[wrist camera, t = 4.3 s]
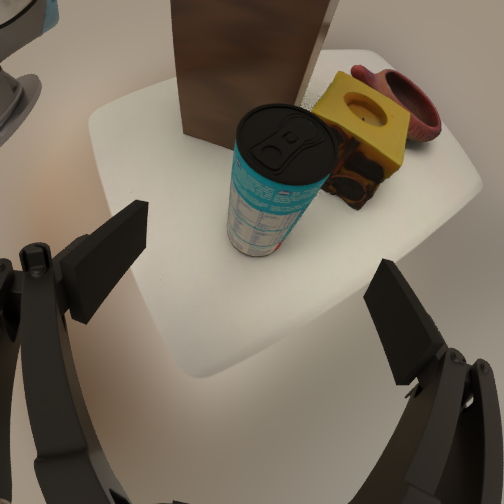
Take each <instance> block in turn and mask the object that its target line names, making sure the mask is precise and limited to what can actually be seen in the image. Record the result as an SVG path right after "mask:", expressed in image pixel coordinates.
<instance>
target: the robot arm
mask: <svg viewBox="0 0 504 504" xmlns="http://www.w3.org/2000/svg"><path fill="white" fill-rule="evenodd" d="M58 21H59V12H58V4H57V0H0V62H2V61H3V60H4V59H6V58H7V57H9V56H10V55H11V54H13V53H14V52H16V51H17V50H18V49H20V48H22V47H23V46H25V45H26V44H28V43H29V42H31V41H33V40H34V39H36V38H37V37H39V36H41V35H43V33H45V32H47V31H48V30H50V29H51V28H53V27H54V26H55V25H56V24H57V23H58ZM23 93H24V88H23V87H22V85H21V83H20V82H19V81H18V80H16V79H15V78H13V77H12V76H10V75H9V74H8V73H6V72H4V71H3V69H2V68H1V66H0V127H1V126H2V125H3V124H4V122H5V121H6V120H7V119H8V118H9V117H10V115H11V114H12V113H13V111H14V110H15V109H16V107H17V106H18V104H19V102H20V100H21V98H22V96H23ZM148 204H149V202H145V201H140V200H135V201H133V202H132V203H131V204H129V205H128V206H127V207H125V208H124V209H123V210H121V211H120V212H119V213H117V214H116V215H115V216H113V217H112V218H111V219H109V220H108V221H107V222H106V223H104V224H103V225H102V226H100V227H99V228H98V229H97V230H96V231H94V232H93V233H92V234H90V235H88V234H85V235H83V236H80V237H78V238H76V239H75V240H74V241H73V242H72V243H71V244H70V245H68V246H67V247H66V248H65V249H63V250H62V251H61V252H60V253H58V254H57V255H56V256H55V257H54V258H53V259H52V258H51V251H50V247H49V246H48V245H47V244H46V243H41V242H40V243H32V244H29V245H27V246H25V247H24V248H23V249H22V250H21V251H20V253H19V257H20V261H21V265H22V269H23V271H17V270H13V267H12V263H11V261H10V260H8V259H5V258H2V259H0V504H11V501H12V478H11V461H10V416H11V402H12V391H13V383H14V377H15V370H16V364H17V358H18V353H19V348H20V344H21V361H22V373H23V383H24V390H25V398H26V404H27V409H28V415H29V420H30V425H31V429H32V434H33V438H34V442H35V446H36V449H37V458H36V459H35V460H34V469H35V473H36V477H37V480H38V483H39V485H40V488H41V491H42V493H43V496H44V498H45V501H46V503H47V504H132V503H131V501H130V499H129V498H128V496H127V494H126V493H125V491H124V490H123V488H122V486H121V484H120V483H119V481H118V479H117V478H116V476H115V475H114V473H113V471H112V469H111V467H110V465H109V463H108V461H107V459H106V457H105V454H104V452H103V450H102V447H101V445H100V443H99V440H98V438H97V435H96V433H95V430H94V428H93V425H92V422H91V419H90V416H89V413H88V410H87V407H86V404H85V401H84V398H83V395H82V391H81V388H80V384H79V381H78V377H77V373H76V369H75V365H74V361H73V357H72V351H71V347H70V342H69V337H68V331H67V325H66V320H65V316H64V314H65V312H66V311H67V310H68V309H69V310H70V314H71V317H72V319H74V320H76V321H79V322H81V323H84V324H86V325H87V323H88V322H89V320H90V319H91V318H92V316H93V315H94V313H95V312H96V311H97V309H98V308H99V306H100V305H101V304H102V302H103V301H104V300H105V298H106V297H107V296H108V294H109V293H110V292H111V290H112V289H113V288H114V286H115V285H116V284H117V283H118V281H119V280H120V279H121V278H122V276H123V275H124V274H125V272H126V271H127V270H128V269H129V267H130V266H131V265H132V264H133V262H134V261H135V260H136V259H137V258H138V256H139V255H140V254H141V253H142V252H143V250H144V249H145V248H146V234H147V217H148ZM363 298H364V300H365V302H366V305H367V307H368V309H369V312H370V314H371V317H372V319H373V322H374V324H375V327H376V330H377V332H378V334H379V337H380V340H381V343H382V345H383V348H384V351H385V354H386V356H387V359H388V362H389V365H390V368H391V371H392V374H393V377H394V379H395V382H396V385H409V384H410V383H411V382H412V381H413V380H414V379H415V378H416V377H417V379H418V381H419V383H418V384H417V385H416V386H415V387H414V388H413V389H412V390H411V391H410V392H409V393H408V394H407V395H406V396H405V398H407V397H408V396H410V399H409V401H408V403H407V406H406V408H405V410H404V412H403V415H402V417H401V419H400V421H399V423H398V425H397V427H396V429H395V431H394V433H393V435H392V437H391V439H390V440H389V443H388V444H387V446H386V448H385V450H384V451H383V453H382V455H381V457H380V458H379V460H378V462H377V464H376V465H375V467H374V468H373V470H372V471H371V473H370V475H369V476H368V478H367V479H366V481H365V482H364V484H363V485H362V487H361V488H360V490H359V491H358V492H357V494H356V495H355V496H354V498H353V499H352V500H351V501H350V502H349V503H348V504H501V499H502V487H503V439H502V438H503V437H502V425H501V416H500V409H499V402H498V396H497V390H496V385H495V379H494V375H493V371H492V368H491V367H490V364H489V363H488V362H487V361H485V360H483V359H477V361H476V362H475V363H474V364H473V365H469V364H466V360H465V358H464V356H463V355H462V354H461V353H460V352H459V351H458V350H456V349H454V348H448V346H447V344H446V342H445V341H444V339H443V337H442V335H441V333H440V332H439V331H438V328H437V326H436V325H435V323H434V321H433V320H432V318H431V316H430V315H429V314H428V313H427V312H426V311H425V309H424V307H423V306H422V304H421V303H420V301H419V299H418V298H417V296H416V295H415V293H414V292H413V290H412V288H411V287H410V285H409V284H408V282H407V281H406V280H405V278H404V277H403V275H402V274H401V272H400V271H399V269H398V268H397V266H396V265H395V263H394V262H393V261H390V260H387V259H383V258H382V261H381V263H380V265H379V267H378V269H377V271H376V273H375V275H374V277H373V279H372V281H371V283H370V285H369V287H368V289H367V291H366V293H365V295H364V296H363ZM472 397H473V403H472V404H471V405H470V406H469V407H466V403H467V402H468V401H469V400H470V399H471V398H472ZM160 504H167V503H160ZM172 504H187V503H182V502H178V501H174V500H173V503H172Z"/></svg>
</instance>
